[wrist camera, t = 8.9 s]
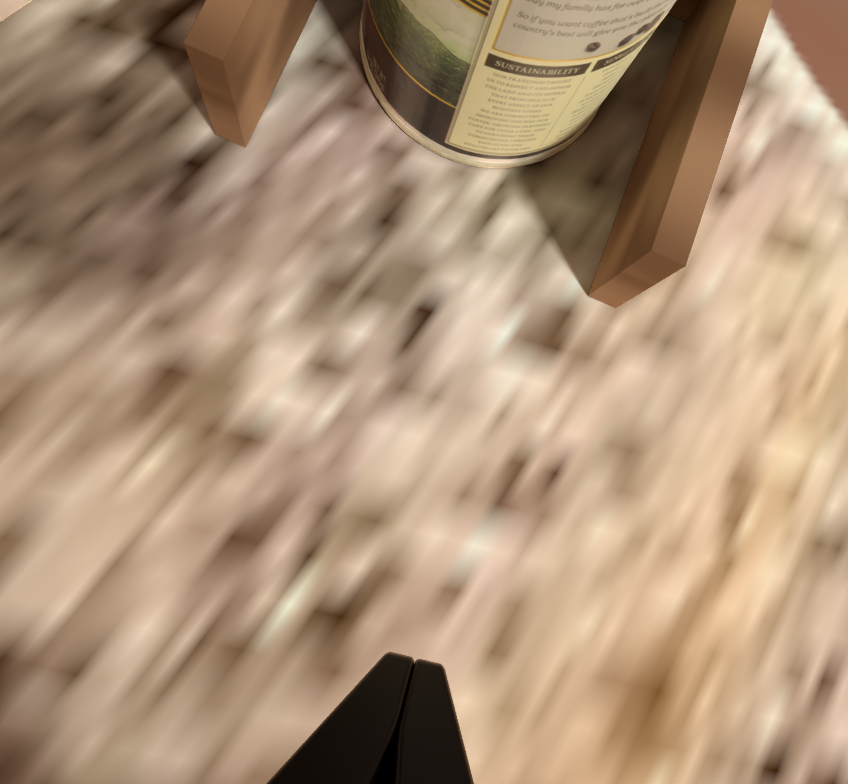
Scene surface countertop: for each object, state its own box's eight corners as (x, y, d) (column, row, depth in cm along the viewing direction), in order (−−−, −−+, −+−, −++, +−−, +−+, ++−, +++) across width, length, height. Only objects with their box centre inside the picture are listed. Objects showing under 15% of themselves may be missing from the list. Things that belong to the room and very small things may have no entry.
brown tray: (615, 307, 25) (685, 265, 20) (214, 134, 23) (183, 43, 19) (720, 5, 27) (805, -99, 22) (364, -167, 26) (371, -318, 21)
